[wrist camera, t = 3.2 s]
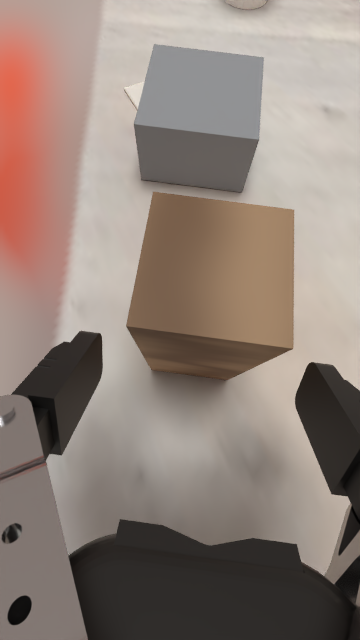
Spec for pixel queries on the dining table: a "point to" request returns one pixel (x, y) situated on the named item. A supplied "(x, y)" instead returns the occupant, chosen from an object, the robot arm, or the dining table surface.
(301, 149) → the dining table surface
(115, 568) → the robot arm
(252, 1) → the shot glass
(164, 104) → the base block
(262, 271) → the walnut brick
